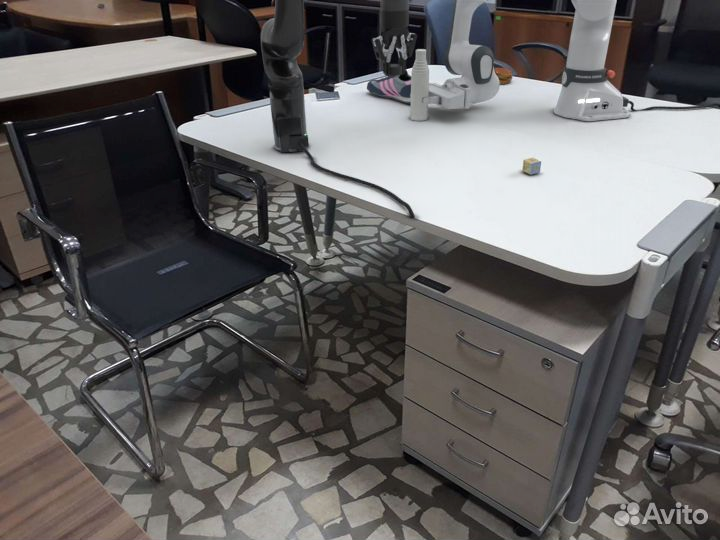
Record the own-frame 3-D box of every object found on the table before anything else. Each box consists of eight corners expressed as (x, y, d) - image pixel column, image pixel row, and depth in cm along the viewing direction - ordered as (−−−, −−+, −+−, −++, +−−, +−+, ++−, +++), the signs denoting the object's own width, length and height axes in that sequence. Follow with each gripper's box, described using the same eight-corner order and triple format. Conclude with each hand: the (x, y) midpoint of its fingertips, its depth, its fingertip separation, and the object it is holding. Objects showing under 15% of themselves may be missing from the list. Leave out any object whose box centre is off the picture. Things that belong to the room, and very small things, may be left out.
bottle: (431, 118, 181) (433, 50, 170) (417, 121, 178) (419, 52, 167) (420, 114, 184) (422, 47, 174) (406, 117, 182) (408, 49, 171)
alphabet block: (529, 175, 138) (531, 163, 136) (521, 170, 140) (523, 159, 139) (540, 173, 139) (541, 161, 137) (531, 168, 141) (533, 157, 140)
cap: (383, 74, 160) (383, 65, 159) (393, 71, 162) (393, 63, 161) (395, 76, 157) (395, 67, 156) (405, 73, 160) (405, 65, 159)
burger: (509, 78, 224) (510, 66, 222) (513, 84, 216) (515, 71, 214) (483, 78, 224) (484, 66, 222) (487, 84, 216) (488, 72, 214)
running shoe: (378, 89, 214) (378, 59, 209) (432, 101, 198) (434, 68, 192) (360, 93, 209) (360, 63, 203) (415, 106, 192) (416, 73, 187)
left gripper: (379, 11, 145) (380, 80, 154) (424, 6, 151) (422, 73, 160) (364, 9, 151) (365, 75, 160) (408, 4, 157) (407, 68, 166)
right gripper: (436, 76, 189) (400, 81, 184) (473, 89, 173) (435, 95, 168) (435, 95, 192) (400, 101, 187) (472, 109, 177) (434, 116, 171)
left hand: (394, 74), depth 160 cm, fingers closed on cap, 4 cm apart
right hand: (417, 98), depth 178 cm, fingers closed on bottle, 5 cm apart
